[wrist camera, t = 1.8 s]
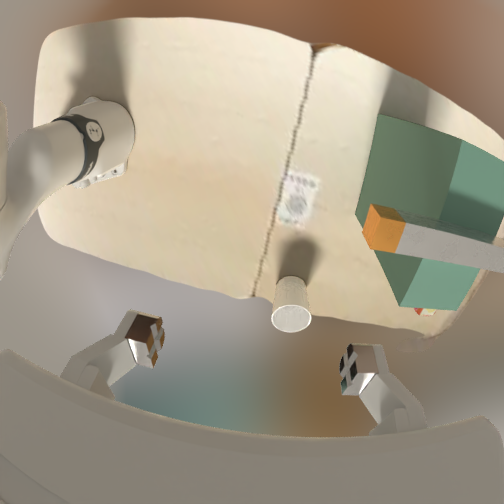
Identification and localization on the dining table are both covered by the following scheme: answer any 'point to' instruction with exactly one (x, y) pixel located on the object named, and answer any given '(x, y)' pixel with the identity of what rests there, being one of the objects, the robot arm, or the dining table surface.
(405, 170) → the green box
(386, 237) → the lever bar
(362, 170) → the dining table surface
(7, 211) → the robot arm
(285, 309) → the white cup
